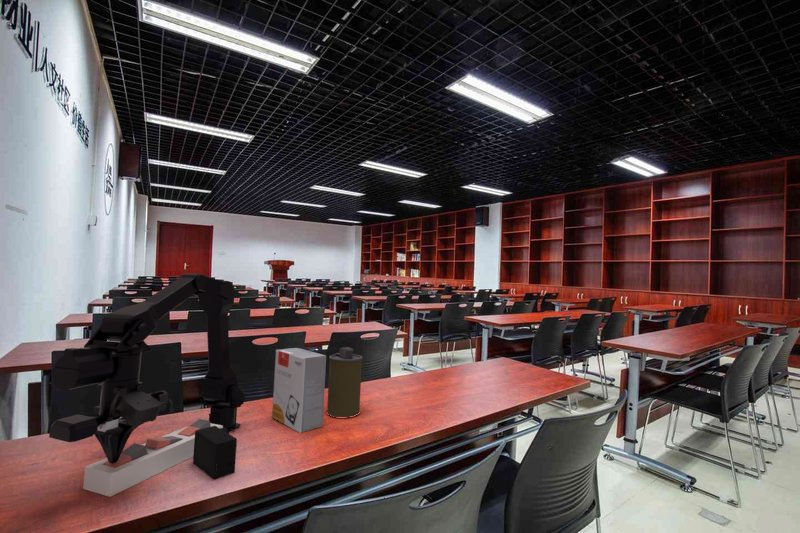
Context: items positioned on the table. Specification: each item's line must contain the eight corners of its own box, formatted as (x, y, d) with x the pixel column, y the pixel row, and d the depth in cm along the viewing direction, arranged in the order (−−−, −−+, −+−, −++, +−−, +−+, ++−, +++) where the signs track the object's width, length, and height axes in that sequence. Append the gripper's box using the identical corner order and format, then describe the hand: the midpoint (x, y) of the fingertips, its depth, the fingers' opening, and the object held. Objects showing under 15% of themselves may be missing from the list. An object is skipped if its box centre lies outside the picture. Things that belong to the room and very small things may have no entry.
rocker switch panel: (209, 433, 96) (210, 417, 96) (231, 437, 94) (232, 421, 94) (83, 488, 69) (85, 466, 69) (109, 496, 66) (111, 473, 67)
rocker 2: (169, 442, 83) (171, 436, 84) (180, 445, 82) (182, 438, 83) (145, 446, 78) (147, 438, 78) (156, 448, 77) (158, 441, 77)
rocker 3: (200, 424, 91) (199, 418, 91) (210, 426, 90) (209, 420, 90) (178, 439, 85) (177, 433, 85) (189, 441, 84) (188, 435, 84)
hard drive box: (270, 418, 109) (274, 349, 110) (294, 412, 114) (297, 347, 116) (300, 433, 98) (304, 357, 99) (324, 426, 104) (327, 354, 105)
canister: (366, 414, 115) (369, 349, 116) (337, 421, 108) (340, 351, 110) (348, 405, 123) (350, 344, 125) (319, 411, 117) (322, 346, 118)
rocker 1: (135, 449, 76) (134, 443, 75) (146, 452, 75) (145, 446, 74) (104, 470, 70) (102, 464, 70) (116, 473, 69) (114, 467, 69)
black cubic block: (240, 471, 78) (243, 436, 78) (214, 480, 73) (216, 444, 74) (218, 455, 84) (220, 423, 85) (192, 463, 80) (195, 429, 81)
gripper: (97, 395, 60) (87, 496, 59) (194, 373, 78) (188, 450, 76) (52, 386, 63) (41, 482, 62) (155, 368, 81) (148, 441, 80)
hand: (113, 462), depth 70 cm, fingers closed
